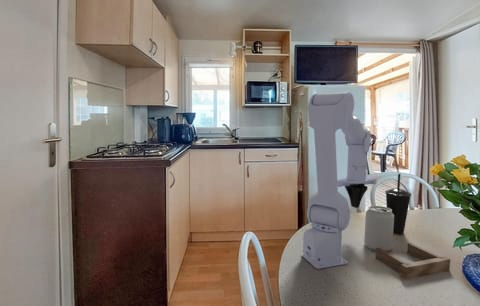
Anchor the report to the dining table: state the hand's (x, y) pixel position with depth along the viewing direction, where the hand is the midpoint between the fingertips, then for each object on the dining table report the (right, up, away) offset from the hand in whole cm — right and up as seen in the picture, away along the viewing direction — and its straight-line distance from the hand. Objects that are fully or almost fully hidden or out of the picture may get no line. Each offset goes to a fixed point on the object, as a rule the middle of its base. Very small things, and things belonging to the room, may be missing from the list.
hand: (355, 206), depth 92 cm
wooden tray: (+6, -11, -18) cm, 23 cm away
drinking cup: (+15, -9, +3) cm, 18 cm away
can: (+3, -11, -9) cm, 14 cm away
